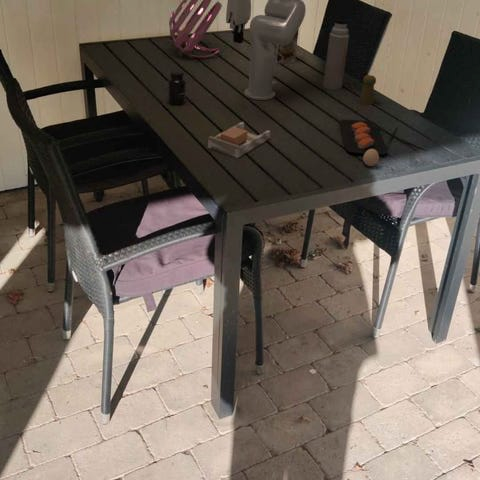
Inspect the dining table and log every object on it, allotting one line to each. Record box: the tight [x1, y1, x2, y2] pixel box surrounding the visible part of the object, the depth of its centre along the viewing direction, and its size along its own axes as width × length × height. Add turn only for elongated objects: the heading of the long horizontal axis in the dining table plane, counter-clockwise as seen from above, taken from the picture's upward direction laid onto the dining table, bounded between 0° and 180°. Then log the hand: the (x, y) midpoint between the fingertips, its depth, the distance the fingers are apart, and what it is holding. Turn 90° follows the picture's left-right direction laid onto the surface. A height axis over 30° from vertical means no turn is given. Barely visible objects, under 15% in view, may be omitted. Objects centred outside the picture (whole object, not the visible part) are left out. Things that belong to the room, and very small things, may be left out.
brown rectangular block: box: [220, 126, 249, 145], centre depth 226 cm, size 8×6×4 cm
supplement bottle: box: [167, 70, 187, 106], centre depth 256 cm, size 7×7×12 cm
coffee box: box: [273, 28, 300, 64], centre depth 306 cm, size 9×6×16 cm
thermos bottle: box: [322, 18, 350, 91], centre depth 277 cm, size 8×8×28 cm
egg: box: [363, 149, 380, 167], centre depth 220 cm, size 5×5×6 cm
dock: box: [207, 121, 271, 159], centre depth 230 cm, size 20×12×5 cm, turn 146°
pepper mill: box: [357, 74, 377, 106], centre depth 268 cm, size 6×6×11 cm
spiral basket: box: [168, 0, 223, 59], centre depth 305 cm, size 28×28×27 cm
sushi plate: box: [339, 119, 428, 156], centre depth 239 cm, size 29×30×4 cm
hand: (238, 42), depth 242 cm, fingers closed
